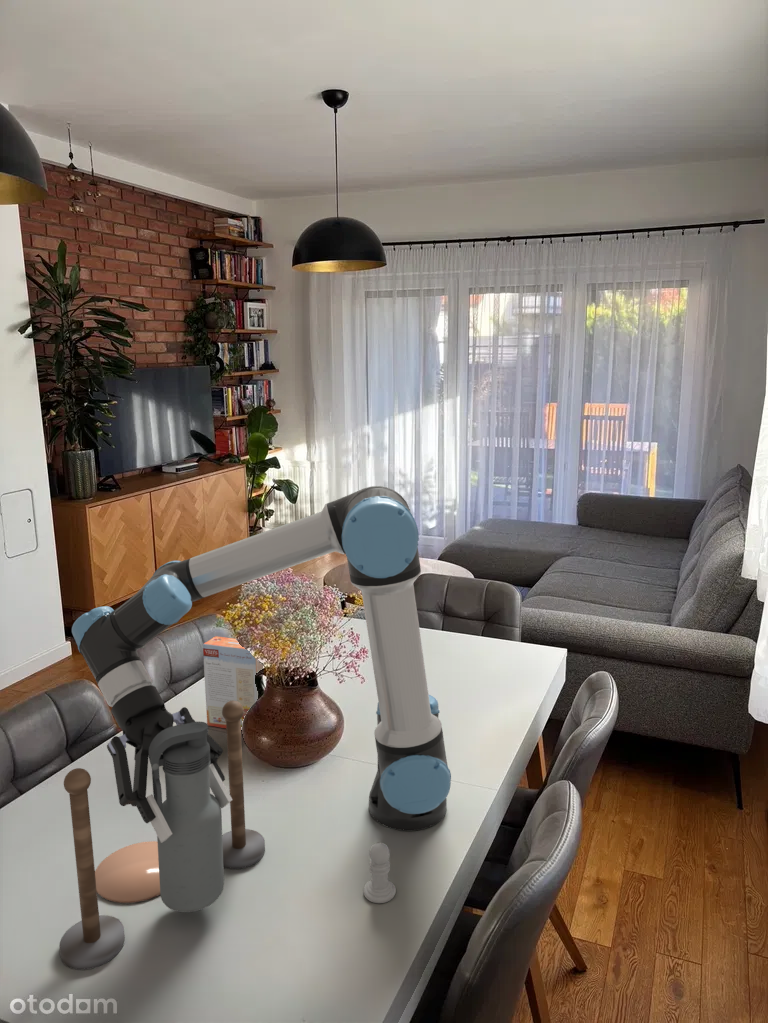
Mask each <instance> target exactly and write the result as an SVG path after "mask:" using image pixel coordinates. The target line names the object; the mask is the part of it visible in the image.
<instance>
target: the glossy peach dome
mask: <svg viewBox="0 0 768 1023" xmlns="http://www.w3.org/2000/svg"><path fill="white" fill-rule="evenodd" d="M95 878H96V889H97V895H99V897H101V898H103V899H104V900H107V901H108V902H109V901H110V902H112V903H119V904H132V903H133V904H134V903H139V902H144V901H148V900H150V899H153V898H157V897H158V896H160V878H159V860H158V842H157V841H156V840H155V841H154V840H153V841H152V840H151V841H150V840H149V841H141V842H137V843H133V844H129V845H126V846H124V847H122V848H119V849H117V850H115V851H114V852H112V853H111V854H109V855H108V856H106V858H104V859H103V860H102V861H101V862H100V863H99V864H98V866H97V867H96V868H95Z"/></svg>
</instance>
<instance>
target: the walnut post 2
mask: <svg viewBox="0 0 768 1023" xmlns="http://www.w3.org/2000/svg"><path fill="white" fill-rule="evenodd" d="M243 712H244V709H243V706H242V705H241V703H239V702H238V701H229V702H227V703H226V704H225V705H224V706H223V709H222V715H223V717H224V719H225V720H226V728H225V729H226V745H227V746H226V747H227V748H226V749H227V764H228V765H227V766H228V767H227V769H228V786H229V788H228V789H229V791H228V792H229V794H230V796H231V798H232V801H231V802H230V803H229V806H230V807H229V808H230V825H231V826H230V827H231V828H230V829H231V830H230V831H227V832H224V833H222V841H223V868H224V869H231V870H239V869H240V870H241V869H245V868H248V867H251V866H253V865H255V864H256V863H259V861H260V860H261V859H262V858H263V856H265V852H266V844H265V843H266V842H265V837H264V836H263V835H262V834H261V833H260V832H259V831H256V830H254V829H249V828H246V815H245V812H246V811H245V790H244V788H245V787H244V773H243V751H242V750H243V749H242V748H243V747H242V744H243V743H242V731H241V721H240V719H241V717H242V716H243Z"/></svg>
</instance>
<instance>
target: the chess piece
mask: <svg viewBox="0 0 768 1023" xmlns="http://www.w3.org/2000/svg"><path fill="white" fill-rule="evenodd" d="M390 854H391V853H390V848H389V847H388V845H387V844H386V843H384V842H376V843H374V844H372V845H371V847H370V850H369V859H370V861H369V863H368V864H369V868H368V869H369V872H370V873H371V879H370V880H368V881H367V882H366V883H365V884H364V886H363V888H362V891H363V892H362V893H363V895H364V897H365V898H366V900H368V901H370V902H372V903H374V904H384V903H388V902H390V901H391V900H393V899H394V897H395V896H396V892H397V889H396V886H395V884H394V883H393V882H392V881H391V880H389V876H388V875H389V872H390V870H391V867H390V865H391V862H390V856H391V855H390Z"/></svg>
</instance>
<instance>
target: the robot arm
mask: <svg viewBox="0 0 768 1023" xmlns="http://www.w3.org/2000/svg"><path fill="white" fill-rule="evenodd" d="M419 536H420V535H419V529H418V525H417V522H416V520H415V518H414V515H413V514H412V512H411V509H410V506H409V504H408V502H407V500H406V499H405V498H404V497H403V496H402V495H401V494H400V493H399V492H398V491H396V490H395V489H392V488H390V487H387V486H381V485H373V486H372V485H371V486H368V487H365V488H362V489H358V490H357V491H355V492H352V493H350V494H347V495H344V496H343V497H340V498H339V499H334V500H333V501H330V502H328V503H325V504H324V506H323V508H322V510H320V511H319V512H316V513H313V514H310V515H308V516H305V517H302V518H299V519H296V520H294V521H291V522H289V523H285V524H283V525H279V526H277V527H275V528H274V527H273V528H271V529H269V530H266V531H262V532H260V533H258V534H255V535H251V536H248V537H245V538H244V539H241V540H237V541H234V542H233V543H232V542H231V543H229V544H226V545H224V546H220V547H217V548H214V549H213V550H212V549H211V550H210V551H209V550H208V551H207V552H204V553H201V554H198V555H196V556H193V557H191V558H187V559H184V560H182V561H181V560H171V561H168V562H165V563H164V564H163V565H161V566H159V568H158V569H156V570H155V572H153V575H152V576H151V577H150V578H149V579H148V580H147V582H145V584H144V585H143V586H142V587H141V588H140V589H139V590H138V591H137V592H136V593H135V594H134V595H132V597H130V598H129V599H127V600H126V601H125V602H124V603H123V604H122V605H120V606H119V607H117V608H115V609H113V608H112V607H111V606H106V605H105V606H97V607H95V608H93V609H90V610H89V611H87V612H85V613H83V614H81V615H80V616H79V617H78V618H76V620H75V621H74V622H73V624H72V626H71V634H72V636H73V638H74V641H75V643H76V645H77V649H78V652H79V654H81V655H82V657H83V659H84V660H85V661H84V662H85V663H86V664H87V666H88V669H89V670H90V672H91V673H92V676H93V677H94V679H95V682H96V684H97V687H98V688H99V690H100V692H101V694H102V696H103V698H104V700H105V701H106V703H107V705H108V706H109V707H111V711H110V712H111V714H112V715H113V717H114V719H115V721H116V724H117V725H118V728H120V729H121V730H122V735H120V736H116V735H115V736H113V737H112V739H111V740H110V741H109V742H108V743H107V745H106V748H107V751H108V753H109V754H110V756H111V758H112V764H113V770H114V775H115V783H116V790H117V797H118V803H119V805H120V806H122V807H125V806H127V805H130V806H132V807H136V808H137V810H138V812H139V814H140V817H141V818H142V821H143V822H144V823H145V824H149V823H150V824H151V826H152V827H153V828H152V829H153V830H154V832H155V834H156V837H157V836H158V838H159V840H160V842H161V843H162V842H164V841H166V840H167V839H168V838H169V837H170V836H171V835H172V832H171V830H170V828H169V826H168V824H167V822H166V820H165V818H164V816H163V814H162V812H161V811H160V809H159V807H158V805H157V803H156V801H155V799H154V795H153V794H150V795H148V796H146V795H147V785H148V782H147V781H148V770H149V747H150V744H151V742H152V740H153V739H154V738H155V736H156V735H157V734H158V733H160V732H161V731H162V730H164V729H166V728H169V727H172V726H174V723H175V726H176V725H182V724H187V723H192V722H196V720H195V719H193V717H192V715H191V713H190V711H189V709H188V708H187V707H186V706H185V707H183V706H182V708H181V709H180V710H179V711H177V712H173V713H171V712H170V711H169V710H168V709H166V705H165V702H164V700H163V698H162V696H161V694H160V692H159V691H158V689H157V687H156V686H155V685H152V684H153V679H152V677H151V676H150V674H149V672H148V670H147V669H146V667H145V665H144V664H143V661H142V660H141V658H140V656H139V652H138V650H140V649H142V648H143V647H144V646H145V645H147V643H149V642H150V641H152V640H153V639H155V637H157V636H158V635H160V634H162V632H164V631H165V630H167V629H168V628H170V627H171V626H172V625H173V624H177V623H178V622H179V621H180V619H181V618H183V617H184V616H185V615H187V613H188V612H189V611H190V610H191V609H192V606H193V602H196V601H199V600H201V599H204V598H206V597H210V596H212V595H215V594H218V593H221V592H224V591H227V590H229V589H231V588H235V587H237V586H240V585H244V584H246V583H249V582H251V581H254V580H257V579H260V578H263V577H266V576H269V575H272V574H274V573H278V572H280V571H284V570H286V569H289V568H291V567H294V566H298V565H300V564H303V563H306V562H309V561H312V560H315V559H317V558H319V557H324V556H326V555H329V554H332V553H334V552H335V553H339V554H342V555H345V557H346V560H347V567H348V568H347V569H348V572H349V580H350V583H351V585H352V586H354V587H355V588H357V589H358V590H360V591H361V597H362V603H363V609H364V610H363V611H364V616H365V622H366V624H365V625H366V629H367V636H368V642H369V650H370V655H371V661H372V662H371V663H372V668H373V669H372V670H373V675H374V682H375V687H376V695H377V699H378V700H377V701H378V702H377V708H376V709H377V710H376V712H375V715H376V717H377V718H376V719H377V723H376V727H375V728H374V733H373V734H374V740H375V746H376V754H377V771H376V774H375V777H374V779H373V783H372V785H371V789H370V791H369V795H368V811H369V814H370V816H371V817H372V818H373V820H375V821H376V822H377V823H379V824H380V825H382V826H384V827H386V828H390V829H393V830H398V831H405V832H406V831H409V832H410V831H411V832H412V831H420V830H424V829H427V828H431V827H432V826H435V825H436V824H439V822H440V821H442V820H443V818H444V817H445V815H446V813H447V808H448V807H447V805H448V804H447V803H448V802H447V797H448V795H449V794H450V790H451V784H452V782H451V781H452V773H451V770H450V768H449V766H448V765H449V764H448V762H447V754H446V745H445V740H444V733H443V732H444V731H443V724H442V721H441V720H440V718H439V714H440V709H439V702H438V700H437V698H436V697H434V696H433V695H431V694H429V689H428V680H427V673H426V666H425V658H424V653H423V645H422V637H421V631H420V630H421V629H420V623H419V615H418V610H417V609H418V608H417V601H416V593H415V586H414V585H415V584H414V583H415V582H416V581H417V579H418V578H419V577H420V575H421V574H422V570H421V569H422V568H421V564H420V555H419V548H418V547H419V540H420V538H419ZM206 737H207V742H208V743H209V745H210V766H209V782H210V791H212V793H213V794H212V795H213V796H215V797H216V798H217V799H218V801H219V803H220V806H221V809H223V808H224V807H226V806H227V805H228V804H230V802H231V801H232V798H231V796H230V791H228V789H227V787H226V785H225V783H224V781H225V780H226V777H225V775H224V773H223V771H222V770H221V767H220V765H219V764H218V759H219V758H220V757H221V755H222V754H223V753H224V749H223V747H222V746H221V745H220V744H218V743H217V742H216V741H215V740H214V739H213V737H212V736H210V735H209V734H208V735H207V736H206ZM127 744H128V745H129V746H131V747H134V757H133V758H134V759H133V760H134V769H133V770H134V771H133V772H134V773H133V784H132V779H131V773H130V768H129V767H130V766H129V760H128V754H127V750H126V748H127Z"/></svg>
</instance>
